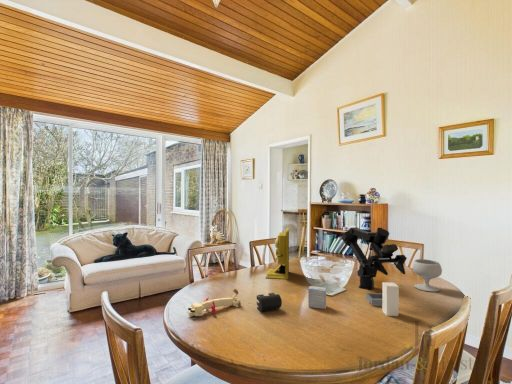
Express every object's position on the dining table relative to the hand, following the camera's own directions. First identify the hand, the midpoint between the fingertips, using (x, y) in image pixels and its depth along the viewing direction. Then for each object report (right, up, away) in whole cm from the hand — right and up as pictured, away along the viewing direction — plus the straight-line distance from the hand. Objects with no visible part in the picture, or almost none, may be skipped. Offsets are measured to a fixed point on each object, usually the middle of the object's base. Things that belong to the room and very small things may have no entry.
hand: (396, 274), depth 133 cm
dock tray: (-7, -15, +4) cm, 17 cm away
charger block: (-7, -15, -8) cm, 18 cm away
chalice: (+29, -15, +24) cm, 41 cm away
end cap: (-61, -15, -5) cm, 63 cm away
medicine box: (-38, -15, -1) cm, 41 cm away
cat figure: (-85, -15, -6) cm, 87 cm away
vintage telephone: (-52, -15, +49) cm, 73 cm away
